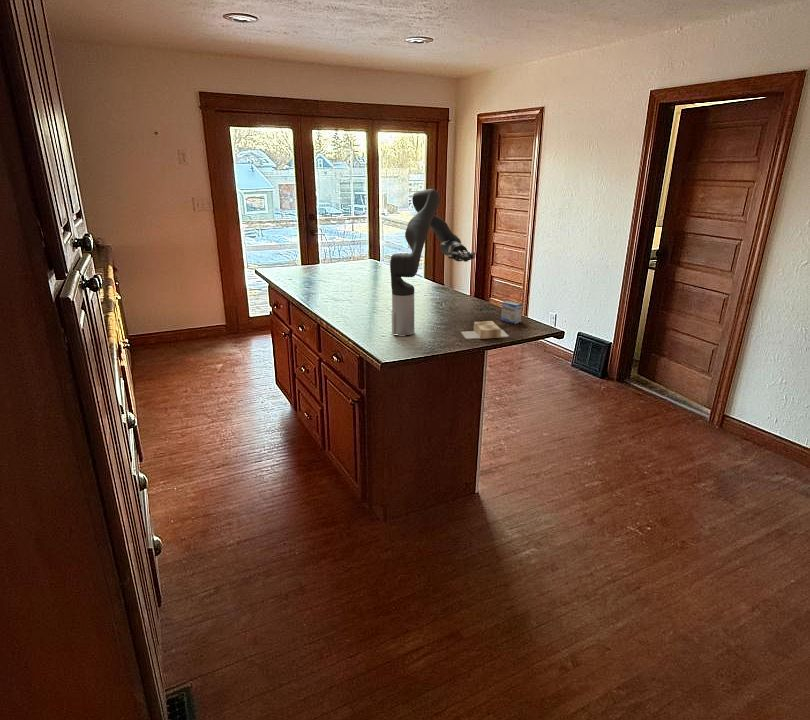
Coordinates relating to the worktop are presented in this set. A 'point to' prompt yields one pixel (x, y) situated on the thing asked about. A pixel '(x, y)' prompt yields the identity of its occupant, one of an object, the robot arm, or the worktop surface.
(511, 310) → the medicine box
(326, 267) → the worktop surface
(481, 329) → the birch block
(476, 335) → the grey mat
